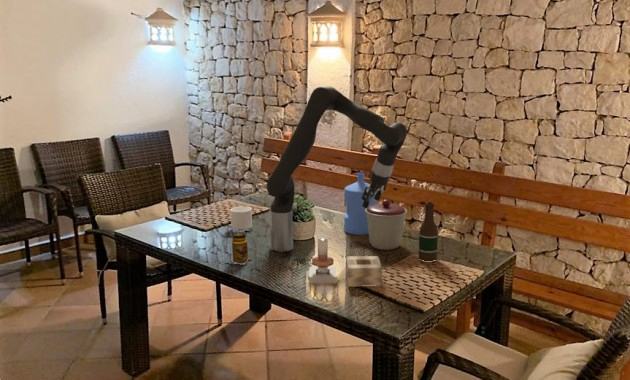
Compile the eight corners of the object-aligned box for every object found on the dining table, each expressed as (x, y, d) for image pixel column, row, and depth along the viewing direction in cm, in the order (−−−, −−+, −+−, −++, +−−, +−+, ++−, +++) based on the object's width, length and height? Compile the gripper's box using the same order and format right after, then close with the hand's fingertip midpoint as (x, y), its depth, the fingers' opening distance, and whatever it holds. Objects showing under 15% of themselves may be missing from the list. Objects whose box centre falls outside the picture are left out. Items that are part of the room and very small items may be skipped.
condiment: (244, 266, 213) (243, 237, 210) (225, 263, 215) (223, 235, 212) (251, 259, 219) (250, 231, 217) (233, 257, 222) (231, 230, 219)
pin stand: (309, 283, 195) (309, 277, 194) (309, 273, 205) (309, 266, 204) (336, 283, 195) (336, 276, 194) (335, 272, 205) (335, 266, 204)
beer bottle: (433, 264, 212) (435, 206, 207) (414, 260, 216) (416, 203, 211) (439, 258, 219) (442, 201, 213) (421, 255, 223) (423, 199, 217)
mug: (243, 233, 253) (243, 213, 250) (227, 230, 258) (226, 210, 255) (259, 226, 263) (258, 206, 261) (243, 224, 268) (242, 204, 266)
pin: (312, 282, 196) (311, 243, 192) (312, 274, 204) (311, 236, 200) (333, 282, 196) (333, 243, 192) (333, 273, 204) (333, 236, 200)
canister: (371, 237, 245) (372, 193, 241) (410, 242, 239) (411, 196, 234) (359, 250, 229) (359, 202, 224) (400, 255, 222) (401, 206, 218)
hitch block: (348, 286, 192) (348, 268, 190) (346, 273, 204) (346, 256, 202) (381, 286, 192) (381, 267, 190) (377, 273, 204) (377, 256, 202)
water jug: (382, 228, 259) (383, 172, 252) (367, 237, 246) (368, 178, 239) (353, 223, 267) (354, 169, 260) (338, 232, 254) (338, 174, 247)
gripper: (383, 160, 212) (372, 192, 222) (364, 171, 202) (353, 205, 212) (399, 169, 209) (387, 201, 218) (379, 181, 199) (368, 214, 208)
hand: (370, 203), depth 215 cm, fingers open, 8 cm apart
